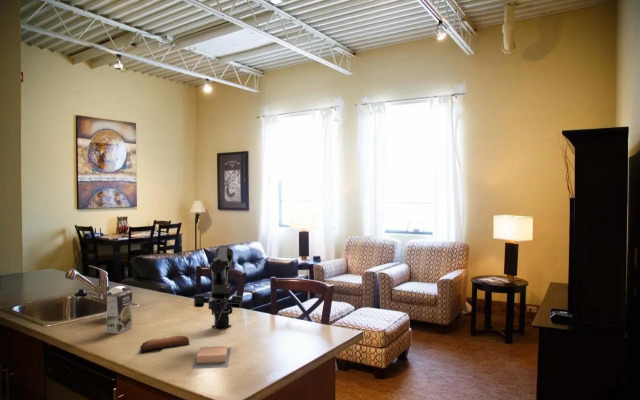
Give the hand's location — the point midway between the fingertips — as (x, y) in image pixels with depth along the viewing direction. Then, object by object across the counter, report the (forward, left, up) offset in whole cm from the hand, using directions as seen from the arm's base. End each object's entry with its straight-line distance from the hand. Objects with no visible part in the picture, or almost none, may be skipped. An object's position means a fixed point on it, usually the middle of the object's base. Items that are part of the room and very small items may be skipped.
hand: (216, 320), depth 167 cm
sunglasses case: (-16, -13, -11) cm, 24 cm away
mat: (+9, -8, -10) cm, 16 cm away
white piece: (-70, -7, -11) cm, 71 cm away
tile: (+6, -6, -8) cm, 12 cm away
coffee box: (-49, -16, -11) cm, 52 cm away
